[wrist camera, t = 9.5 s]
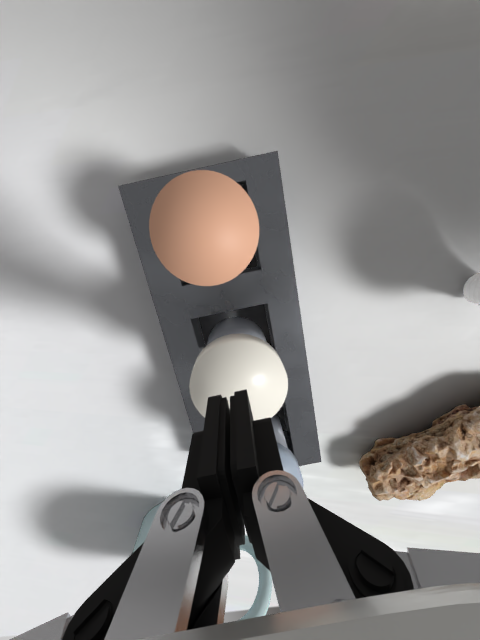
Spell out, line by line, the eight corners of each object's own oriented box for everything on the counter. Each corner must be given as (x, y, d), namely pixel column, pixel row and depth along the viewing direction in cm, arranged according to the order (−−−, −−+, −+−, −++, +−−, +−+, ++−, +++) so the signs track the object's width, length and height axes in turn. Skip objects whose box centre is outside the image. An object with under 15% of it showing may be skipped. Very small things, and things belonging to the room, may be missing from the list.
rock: (401, 538, 25) (370, 499, 21) (372, 485, 30) (342, 443, 25) (580, 469, 22) (588, 405, 18) (519, 421, 27) (513, 361, 22)
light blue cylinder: (279, 392, 22) (297, 447, 16) (288, 442, 23) (308, 510, 17) (219, 404, 22) (215, 463, 16) (232, 452, 23) (232, 523, 17)
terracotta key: (242, 189, 17) (247, 158, 11) (256, 265, 19) (267, 274, 13) (167, 205, 17) (134, 183, 11) (187, 280, 19) (166, 295, 13)
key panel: (270, 166, 18) (277, 151, 15) (311, 436, 25) (321, 461, 22) (135, 195, 19) (118, 186, 16) (211, 455, 25) (208, 482, 22)
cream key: (264, 304, 19) (279, 332, 13) (275, 368, 20) (294, 419, 14) (195, 319, 19) (177, 352, 13) (211, 381, 20) (202, 437, 14)
